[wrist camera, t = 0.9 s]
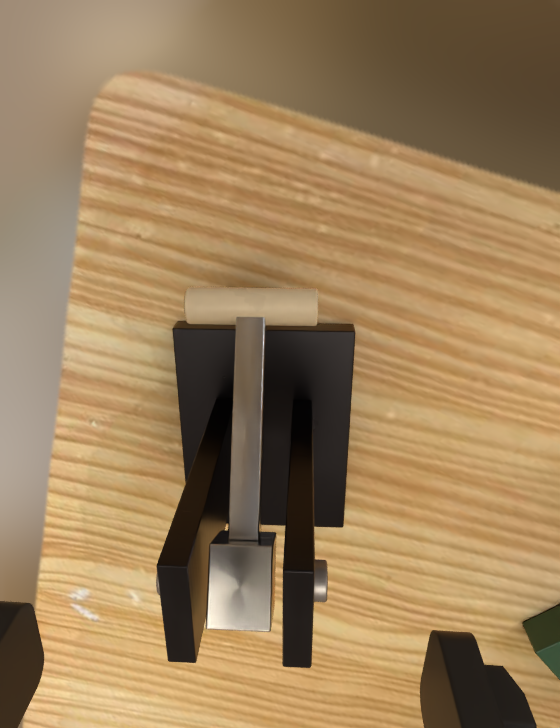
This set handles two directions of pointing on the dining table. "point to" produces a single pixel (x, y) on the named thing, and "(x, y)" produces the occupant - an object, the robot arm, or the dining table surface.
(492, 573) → the dining table surface
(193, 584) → the bracket
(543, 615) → the button box
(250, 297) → the lever
